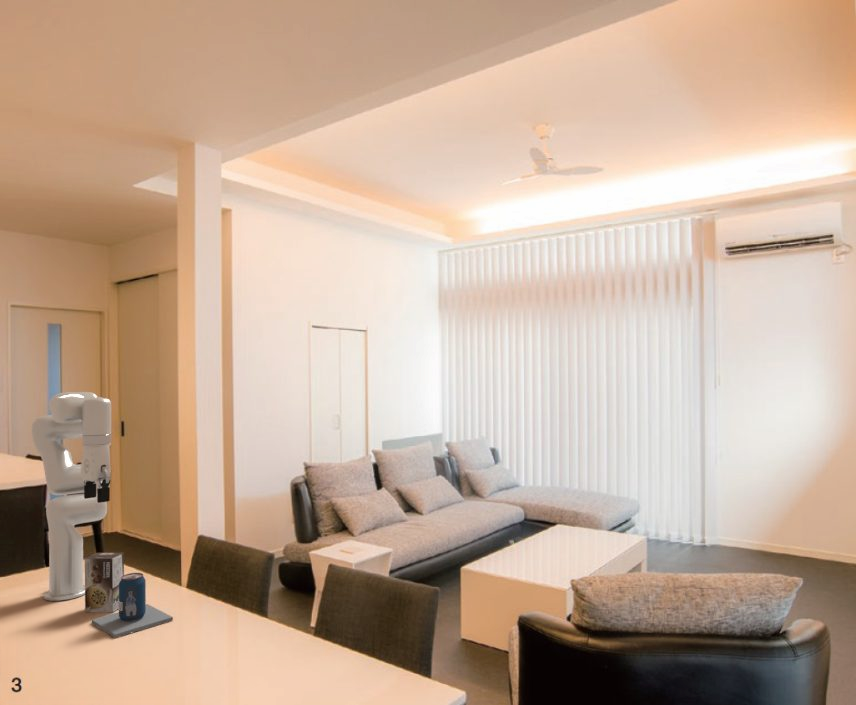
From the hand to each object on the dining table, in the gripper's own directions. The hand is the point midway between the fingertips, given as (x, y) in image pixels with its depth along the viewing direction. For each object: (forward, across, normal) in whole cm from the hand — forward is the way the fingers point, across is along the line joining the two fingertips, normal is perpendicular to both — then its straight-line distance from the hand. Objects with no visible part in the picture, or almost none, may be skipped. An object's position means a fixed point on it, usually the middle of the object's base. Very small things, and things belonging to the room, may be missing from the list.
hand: (96, 499), depth 186 cm
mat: (+34, +10, +6) cm, 36 cm away
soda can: (+34, +10, +6) cm, 35 cm away
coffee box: (+34, -7, +5) cm, 36 cm away
